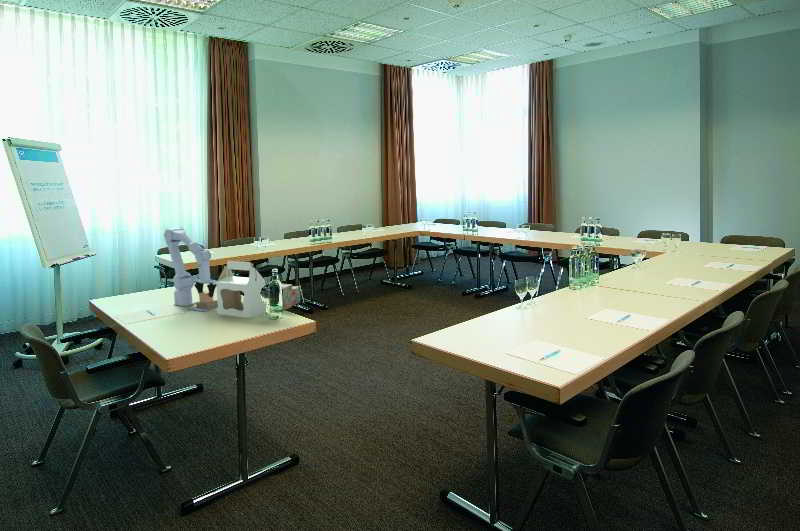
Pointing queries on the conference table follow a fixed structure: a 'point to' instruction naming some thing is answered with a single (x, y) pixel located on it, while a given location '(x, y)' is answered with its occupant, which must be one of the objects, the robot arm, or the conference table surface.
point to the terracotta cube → (205, 297)
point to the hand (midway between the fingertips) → (206, 296)
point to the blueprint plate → (205, 306)
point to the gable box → (231, 291)
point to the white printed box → (290, 295)
